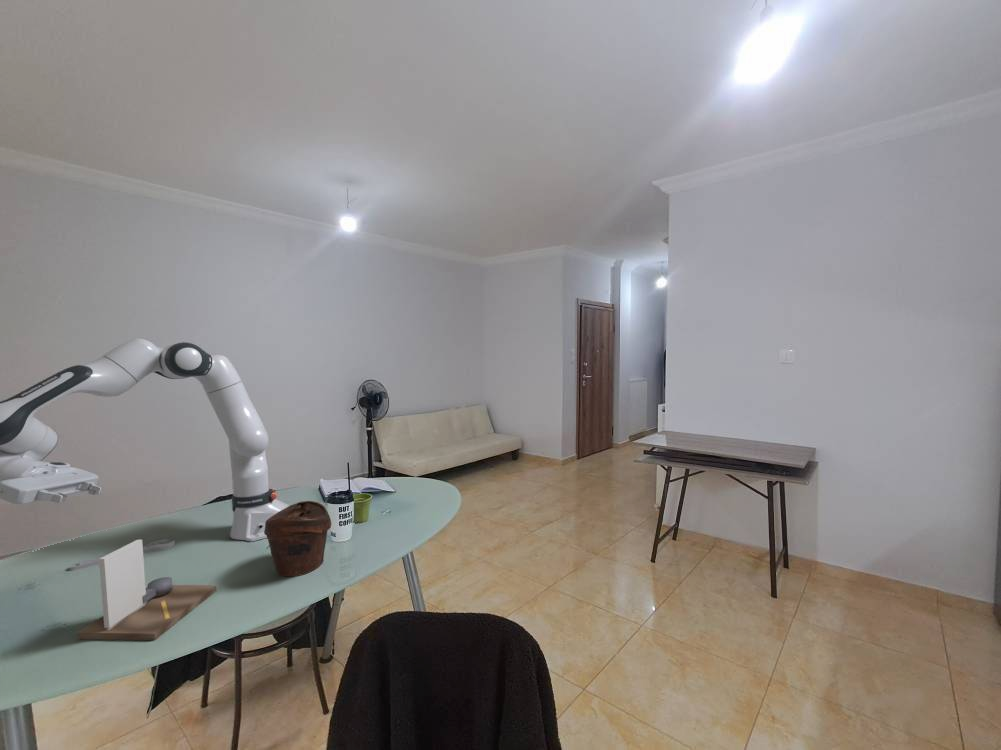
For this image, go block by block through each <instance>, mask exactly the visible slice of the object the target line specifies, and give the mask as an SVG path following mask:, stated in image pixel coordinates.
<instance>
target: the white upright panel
mask: <svg viewBox="0 0 1001 750" xmlns="http://www.w3.org/2000/svg"><path fill="white" fill-rule="evenodd" d="M101 557H102V558H100V557H99V558H100V559H99V564H98V565H99V575H100V590H101V600H102V601H101V602H102V614H103V615H102V616H103V617H104V628H110V627H112V626H113V625H115V624H116V623H117V622H119V621H120V620H122V619H123V618H125V617H126V616H128V615H129V614H131V613H132V612H133V611H135V610H136V609H138V608H139V607H141V606H142V605H144V604H145V603H147V602H146V601H148V600H149V599H151V598H152V597H157V596H161V595H164V594H166V593H168V592H170V591H171V590H172V585H173V579H172V577H170V576H165V577H159V578H157V579H154V580H152V581H150V582H149V583H148V584H147V587H148V589H147V590H146V588H147V587H146V578H145V577H146V575H145V559H144V553H143V539H136V540H134V541H132V542H130V543H128V544H125V545H123V546H122V547H120V548H118V549H115V550H114V551H112V552H110V553H108V554H106V555H103V556H101Z"/></svg>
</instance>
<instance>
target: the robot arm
mask: <svg viewBox="0 0 1001 750" xmlns="http://www.w3.org/2000/svg"><path fill="white" fill-rule="evenodd" d="M232 363H233V362H231V361H230V359H228V357H226V356H225V355H223V354H211V355H210V354H209V353H208V352H207V351H205V350H204V349H203V348H201V347H200V346H198V345H196V344H195V343H191V342H182V341H181V342H177V343H173V344H170V345H168V346H166V347H158V346H156V345H155V344H154V343H153V342H152V341H150V340H147V339H144V338H141V337H138V338H133V339H130V340H128V341H126V342H124V343H122V344H119V345H117V346H116V347H114V348H113V349H111V350H110V351H108V352H106V353H105V354H104V355H102V356H101V357H100V358H98V359H96V360H94V361H92V362H90V363H87V364H84V365H82V364H78V365H77V364H76V365H73V366H69V367H67V368H64V369H63V370H60V371H58V372H56V373H54V374H52V375H50V376H49V377H46V378H45V379H42V380H41V381H39V382H37V383H35V384H34V385H32V386H30V387H28V388H26V389H24V390H23V391H20V392H19V393H17V394H15V395H12V396H10V397H9V398H7V399H4V400H1V401H0V499H1V500H2V501H5V502H7V503H10V504H14V505H26V504H31V503H36V502H53V503H56V504H60V503H64V502H66V500H67V496H69V495H73V494H77V493H82V492H88V495H92V496H95V495H100V494H101V491H102V487H101V486H98V483H99V479H100V478H99V475H97V474H95V473H93V472H90V471H87V470H85V469H82V468H78V467H74V466H73V467H71V464H70V463H67V462H55V461H54V462H51V461H43V460H45V458H46V457H47V456H49V455H50V454H51V453H52V452H53V450H55V448H56V446H57V445H58V440H59V435H58V433H57V431H56V430H54V429H52V427H50V426H49V425H48V424H46V423H45V422H42V421H41V420H39V419H37V418H36V417H35V416H34V415H35V414H36V413H38V412H39V411H41V410H43V409H45V408H46V407H48V406H51V405H52V404H54V403H55V402H57V401H59V400H60V399H62V398H64V397H66V396H68V395H71V394H75V393H85V394H89V395H93V396H97V397H102V398H103V397H105V398H106V397H107V398H109V397H111V398H112V397H117V396H121V395H122V394H124V393H126V392H128V391H129V390H131V389H132V388H133V387H135V386H136V385H137V384H138V383H139V382H140V381H141V380H143V379H144V378H145V377H147V376H149V375H150V374H153V373H155V374H157V375H158V376H159V375H160V376H161V377H164V378H167V379H170V380H183V379H185V380H186V379H189V378H192V377H193V378H195V379H197V380H198V381H199V383H200V384H201V386H202V388H203V390H204V392H205V393H206V394H205V395H206V397H207V398H208V401H209V403H210V404H211V406H212V408H213V411H214V412H215V414H216V417H217V418H218V421H219V423H220V424H221V427H222V429H223V430H224V432H225V435H226V437H227V440H228V447H229V457H230V458H229V459H230V468H231V481H232V494H231V500H230V501H231V510H232V512H233V513H232V514H233V515H232V524H231V528H230V533H229V537H230V538H231V539H233V540H239V541H240V540H242V541H246V542H255V541H259V540H264V539H267V535H265V534H264V531H265V523H266V520H268V519H269V518H270V517H272V516H273V515H275V514H276V513H278V512H279V511H281V510H283V509H285V508H287V507H289V506H290V504H287V503H286V502H283V501H282V500H279V498H278V494H277V492H276V490H275V489H274V488H269V487H270V485H269V484H270V483H269V481H270V480H269V465H268V461H267V453H266V452H267V451H266V450H267V448H268V445H269V442H270V437H269V436H270V435H269V434H268V431H267V429H266V427H265V426H264V423H263V421H262V419H261V417H260V415H259V414H258V412H257V409H256V407H255V405H254V403H253V402H252V400H251V398H250V395H249V393H248V392H247V391H248V390H246V388H245V385H244V382H243V381H242V379H241V377H240V375H239V373H238V371H237V369H236V367H234V365H233V364H232ZM277 498H278V499H277Z"/></svg>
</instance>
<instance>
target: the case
mask: <svg viewBox="0 0 1001 750" xmlns="http://www.w3.org/2000/svg"><path fill="white" fill-rule="evenodd" d="M331 528H332V519H331V517H330V514H329V513H328V510H327V508H326V507H325V505H323V504H322V503H320V502H317V501H313V500H305V501H299V502H295V503H294V504H290V505H289V507H287V508H285V509H283V510H281V511H279V512H278V513H276V514H275V515H273V516H272V517H270V518H269V519H268V520H266V523H265V531H264V534H265V535H267V538H266V539H267V541H268V546H267V547H266V549H268V548H269V549H270V554H271V557H272V561H273V563H274V567H275V571H276V573H277V574H278V575H279V576H283V577H297V576H301V575H305V574H306V575H307V574H308V573H310V572H313V571H314V570H316V569H319V567H320V566H321V565H322V564H323V563H324V556H325V549H326V543H327V536H328V531H329V530H330V529H331Z"/></svg>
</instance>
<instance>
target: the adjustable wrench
mask: <svg viewBox="0 0 1001 750" xmlns="http://www.w3.org/2000/svg"><path fill="white" fill-rule="evenodd" d="M172 547H175V540H172V541H170V539H169V538H166V539H160V540H156V541H152V542H151V543H148V544H146V545H145V546H143V554H144V553H149V552H157V551H163V550H167V549H170V548H172ZM102 557H103V556H100V557H98V558H93V559H89V560H85V561H81V562H76V563H74V564H71V565H69V566H68V571H71V572H72V571H77V570H82V569H84V568H89V567H92V566H95V565H96V566H97V565H100V564H99V559H100V558H102Z"/></svg>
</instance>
